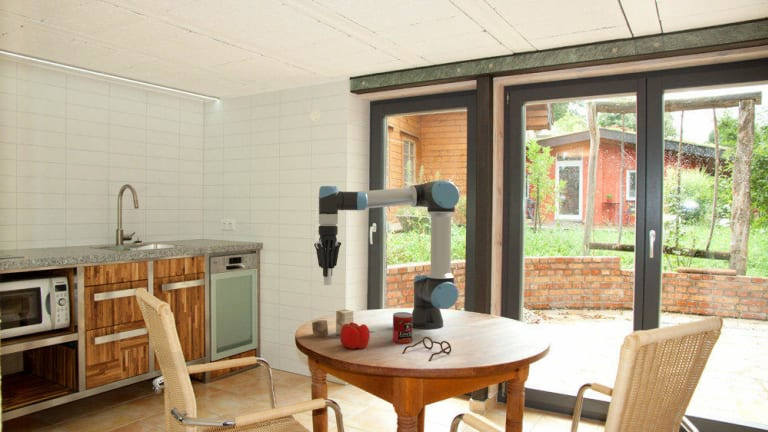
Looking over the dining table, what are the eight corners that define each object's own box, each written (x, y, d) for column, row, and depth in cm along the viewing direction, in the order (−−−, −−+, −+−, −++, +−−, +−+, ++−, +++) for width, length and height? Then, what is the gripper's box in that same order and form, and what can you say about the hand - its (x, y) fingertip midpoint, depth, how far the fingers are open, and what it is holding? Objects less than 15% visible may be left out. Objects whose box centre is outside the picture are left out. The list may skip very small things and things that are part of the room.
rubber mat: (375, 332, 219) (375, 331, 219) (344, 341, 204) (344, 340, 204) (355, 328, 226) (355, 327, 226) (324, 336, 211) (324, 335, 211)
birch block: (353, 335, 213) (353, 310, 212) (344, 337, 209) (345, 312, 208) (344, 333, 216) (344, 309, 216) (335, 335, 212) (336, 311, 212)
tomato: (333, 348, 194) (334, 324, 194) (355, 342, 203) (356, 319, 203) (354, 353, 187) (354, 328, 187) (376, 347, 196) (376, 323, 196)
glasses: (451, 355, 188) (452, 341, 188) (429, 362, 178) (429, 348, 178) (424, 348, 197) (424, 335, 197) (401, 355, 188) (401, 341, 188)
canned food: (398, 345, 199) (399, 316, 199) (389, 340, 206) (389, 312, 206) (415, 342, 203) (416, 315, 203) (405, 338, 210) (406, 311, 210)
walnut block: (328, 334, 212) (327, 320, 213) (322, 337, 208) (321, 322, 208) (318, 334, 214) (317, 320, 214) (313, 337, 210) (311, 322, 210)
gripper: (333, 224, 211) (332, 282, 211) (309, 225, 201) (308, 285, 201) (346, 225, 206) (345, 284, 207) (322, 225, 196) (322, 287, 197)
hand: (327, 284), depth 204 cm, fingers closed
